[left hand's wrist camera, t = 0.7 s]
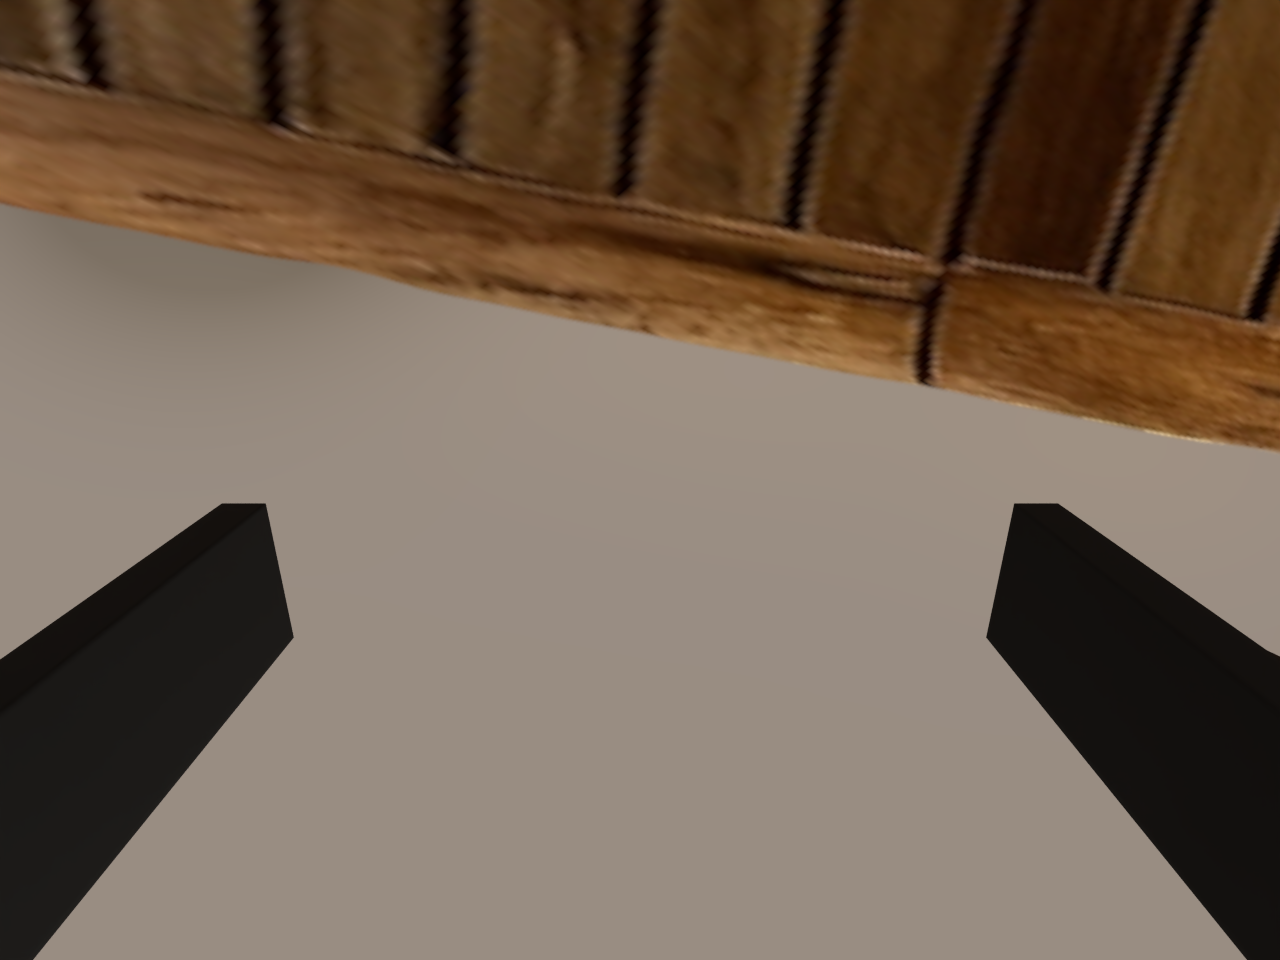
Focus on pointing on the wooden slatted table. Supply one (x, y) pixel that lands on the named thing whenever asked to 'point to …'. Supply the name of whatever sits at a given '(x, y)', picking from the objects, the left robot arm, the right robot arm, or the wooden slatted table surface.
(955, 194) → the wooden slatted table surface
